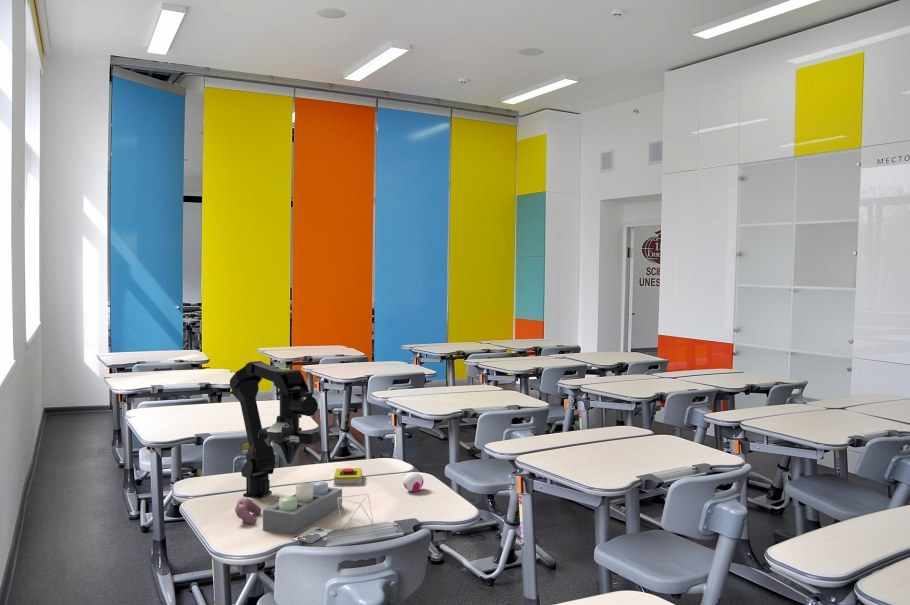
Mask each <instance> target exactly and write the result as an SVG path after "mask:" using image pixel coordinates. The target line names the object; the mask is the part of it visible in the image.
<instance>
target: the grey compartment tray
mask: <svg viewBox="0 0 910 605" xmlns="http://www.w3.org/2000/svg"><path fill="white" fill-rule="evenodd" d="M290 496H291V497H296V493H294V494H293V495H290ZM338 497H343V489H342V488H339V487H329V486H328V493H326V494H324V495H318V494H313V501H311V502H309V503H303V502H297V509H296V510H294V511H292V512H289V511H282V510H279V501H278V502H276V503H274V504H272V505H269V506H267V507H265V508H263V509H262V531H268V532H273V533H281V534H286V535H293V536H295V535H296V534H298V533H300V532H301V531H303V530H305V529H307V528H308V527H310V526H312V525H314V524H315V523H317V522H319V521H321V520H322V519H324V518H327V517H328V516H329V515H331V514H333V513H335V512H336V511H339V509H341V508H343V507H342V505H343V498H342V499H339V498H338ZM337 498H338V499H339V500H340V502H341V503H342V505H341V503H340V502H339V500H337ZM338 502H339V507H338Z"/></svg>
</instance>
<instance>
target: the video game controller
mask: <svg viewBox="0 0 910 605" xmlns="http://www.w3.org/2000/svg"><path fill="white" fill-rule="evenodd" d="M234 507H235V508H234V511H235V515H236V517H237V518H239V519H241V520H242V522H244V523H246V524H249V525H254V524H255V523H256V522H257V521H256V518H255V516H254V515H260V514H261V513H262V509H261V507H260V505H257V503H255V502H254V501H253V500H251V499H250V498H248V497H246V498H244V497H243V498H240V499H239V500H238V501H236V506H234ZM251 513H252V514H251Z"/></svg>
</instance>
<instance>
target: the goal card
mask: <svg viewBox="0 0 910 605" xmlns="http://www.w3.org/2000/svg"><path fill="white" fill-rule="evenodd" d="M333 531H334V530H333V529H331V528H330V529H329V528H323V527H322V528H321V527H316V526H314V527H312V528H309V529H308V530H307V531H305V532H303V533H301V534H299V535H297V536H296V537H294V538H293V539H292V541H294V542H298V541H297V540H298V539H297V538H298V537H302V539H304V540H306V539H307V538H308V537H304V538H303V536H307V535H314V534H325V533H329V532H331V533H332V532H333ZM329 534H330V533H329ZM307 540H308V539H307Z"/></svg>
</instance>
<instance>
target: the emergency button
mask: <svg viewBox="0 0 910 605" xmlns="http://www.w3.org/2000/svg"><path fill="white" fill-rule="evenodd" d="M362 471H363V469H362V468H361V467H351V468H350V467H346V468H345V467H344V468H341V467H340V468H336V469H335V471H334V472H335V473H334V476H333V488H339V487H341V488H342V487H361V486H362V483H363V482H362V481H363V472H362Z"/></svg>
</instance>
